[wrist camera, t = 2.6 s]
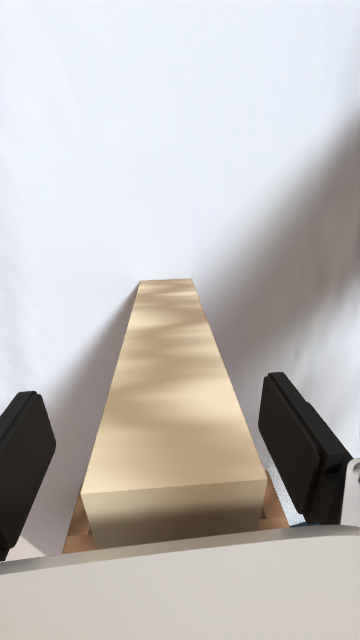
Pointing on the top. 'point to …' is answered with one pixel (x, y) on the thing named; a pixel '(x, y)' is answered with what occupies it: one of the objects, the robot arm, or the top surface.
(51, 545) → the top surface
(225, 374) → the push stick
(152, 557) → the robot arm
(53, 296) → the top surface
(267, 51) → the top surface
